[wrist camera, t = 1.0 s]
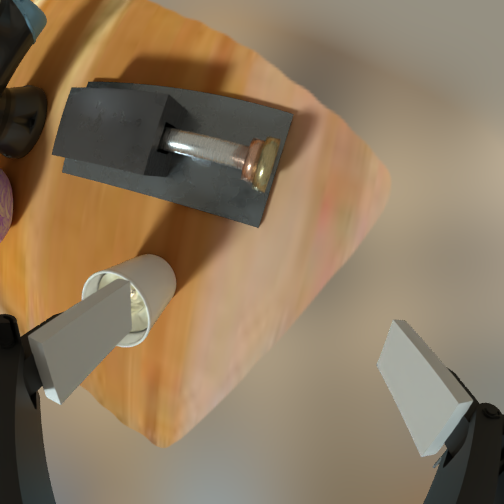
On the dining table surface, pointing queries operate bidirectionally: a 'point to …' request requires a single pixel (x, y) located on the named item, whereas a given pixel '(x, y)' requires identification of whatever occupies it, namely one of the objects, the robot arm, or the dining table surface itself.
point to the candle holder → (139, 291)
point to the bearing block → (159, 161)
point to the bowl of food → (5, 204)
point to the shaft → (226, 153)
